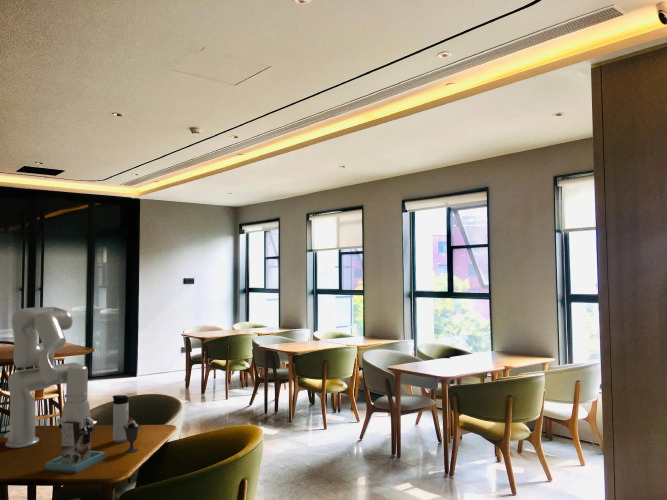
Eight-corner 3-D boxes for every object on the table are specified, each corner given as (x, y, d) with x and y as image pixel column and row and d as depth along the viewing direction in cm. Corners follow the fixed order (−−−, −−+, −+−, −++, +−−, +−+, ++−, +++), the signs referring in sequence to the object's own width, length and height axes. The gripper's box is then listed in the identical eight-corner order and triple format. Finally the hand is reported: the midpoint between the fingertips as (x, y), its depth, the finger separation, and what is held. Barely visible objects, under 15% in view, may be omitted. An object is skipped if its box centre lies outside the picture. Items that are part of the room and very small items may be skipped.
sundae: (130, 447, 231) (130, 411, 231) (143, 449, 228) (143, 412, 229) (119, 452, 224) (119, 415, 225) (132, 454, 222) (132, 416, 223)
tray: (45, 469, 205) (45, 462, 205) (76, 455, 221) (76, 449, 221) (76, 473, 201) (76, 466, 202) (105, 458, 217) (105, 452, 217)
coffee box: (75, 466, 206) (75, 423, 207) (60, 465, 207) (61, 422, 208) (91, 458, 215) (91, 417, 215) (77, 457, 216) (77, 416, 217)
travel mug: (110, 440, 240) (110, 395, 240) (125, 437, 244) (125, 392, 245) (115, 444, 235) (115, 397, 236) (130, 440, 239) (130, 395, 240)
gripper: (51, 398, 211) (50, 443, 210) (88, 401, 206) (88, 447, 205) (65, 394, 218) (64, 437, 217) (102, 397, 213) (101, 441, 213)
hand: (76, 442), depth 211 cm, fingers open, 9 cm apart
